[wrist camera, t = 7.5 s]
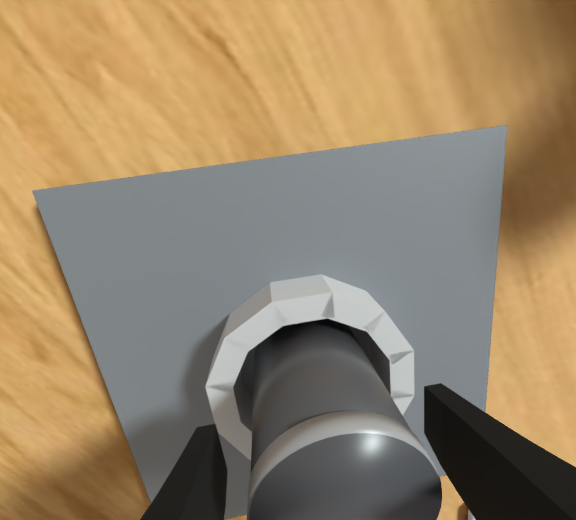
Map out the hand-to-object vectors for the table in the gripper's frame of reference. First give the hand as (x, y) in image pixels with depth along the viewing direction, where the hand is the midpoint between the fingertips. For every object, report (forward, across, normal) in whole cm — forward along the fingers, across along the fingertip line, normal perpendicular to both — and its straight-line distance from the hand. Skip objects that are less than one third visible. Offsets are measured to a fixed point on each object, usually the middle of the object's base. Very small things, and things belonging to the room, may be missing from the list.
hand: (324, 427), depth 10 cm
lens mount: (+5, 0, 0) cm, 5 cm away
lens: (+4, 0, 0) cm, 4 cm away
